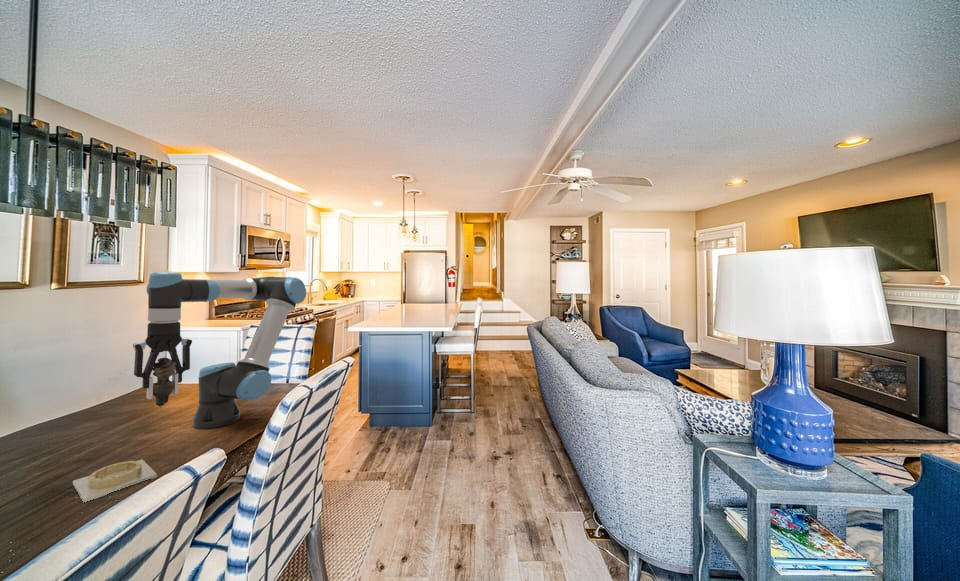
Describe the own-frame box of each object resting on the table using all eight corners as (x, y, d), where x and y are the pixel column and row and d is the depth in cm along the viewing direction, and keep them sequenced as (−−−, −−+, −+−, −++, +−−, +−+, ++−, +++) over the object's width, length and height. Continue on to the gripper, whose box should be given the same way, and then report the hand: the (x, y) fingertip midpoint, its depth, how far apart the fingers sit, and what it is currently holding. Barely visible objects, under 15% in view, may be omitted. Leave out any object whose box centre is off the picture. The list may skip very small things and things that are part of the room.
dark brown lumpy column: (157, 403, 108) (159, 356, 108) (178, 402, 109) (180, 355, 109) (145, 409, 102) (148, 359, 102) (168, 408, 104) (170, 359, 104)
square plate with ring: (142, 462, 106) (142, 453, 106) (156, 477, 98) (156, 467, 98) (72, 484, 94) (72, 473, 94) (83, 503, 86) (83, 491, 86)
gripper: (196, 319, 115) (194, 387, 115) (119, 322, 100) (117, 401, 100) (205, 320, 111) (203, 391, 111) (126, 324, 96) (124, 406, 96)
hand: (162, 395), depth 106 cm, fingers closed on dark brown lumpy column, 5 cm apart
